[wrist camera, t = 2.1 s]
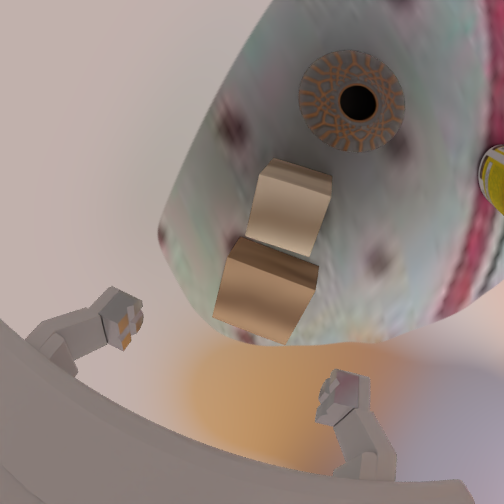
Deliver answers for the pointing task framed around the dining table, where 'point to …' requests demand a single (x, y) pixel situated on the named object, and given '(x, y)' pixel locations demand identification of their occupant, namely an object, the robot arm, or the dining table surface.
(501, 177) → the supplement bottle
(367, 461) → the robot arm
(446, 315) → the dining table surface
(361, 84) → the vase
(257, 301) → the walnut block
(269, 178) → the maple cube
